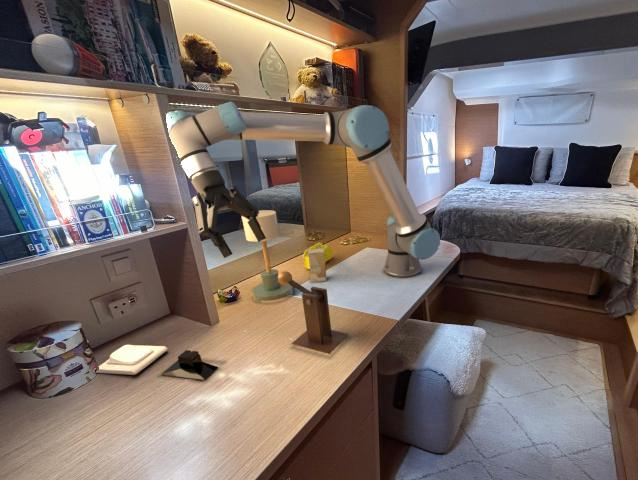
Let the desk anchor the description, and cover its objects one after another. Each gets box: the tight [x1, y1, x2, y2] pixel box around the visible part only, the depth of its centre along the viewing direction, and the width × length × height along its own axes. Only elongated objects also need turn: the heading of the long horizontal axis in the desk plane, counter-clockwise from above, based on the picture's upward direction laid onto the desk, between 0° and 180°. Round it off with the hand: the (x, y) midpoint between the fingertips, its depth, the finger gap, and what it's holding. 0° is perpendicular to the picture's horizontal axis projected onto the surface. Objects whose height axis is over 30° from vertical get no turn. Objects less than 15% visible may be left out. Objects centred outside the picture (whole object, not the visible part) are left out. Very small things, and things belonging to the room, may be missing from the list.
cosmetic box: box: [307, 249, 327, 283], centre depth 133 cm, size 6×4×12 cm
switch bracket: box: [290, 286, 349, 355], centre depth 91 cm, size 12×10×16 cm
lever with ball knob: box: [278, 270, 323, 303], centre depth 89 cm, size 13×4×4 cm, turn 66°
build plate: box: [161, 349, 219, 382], centre depth 84 cm, size 12×7×5 cm, turn 78°
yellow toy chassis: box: [302, 241, 334, 270], centre depth 150 cm, size 16×6×8 cm, turn 158°
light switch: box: [95, 344, 169, 376], centre depth 89 cm, size 11×4×13 cm
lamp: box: [240, 209, 294, 303], centre depth 118 cm, size 14×14×30 cm
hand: (246, 247), depth 93 cm, fingers open, 13 cm apart
